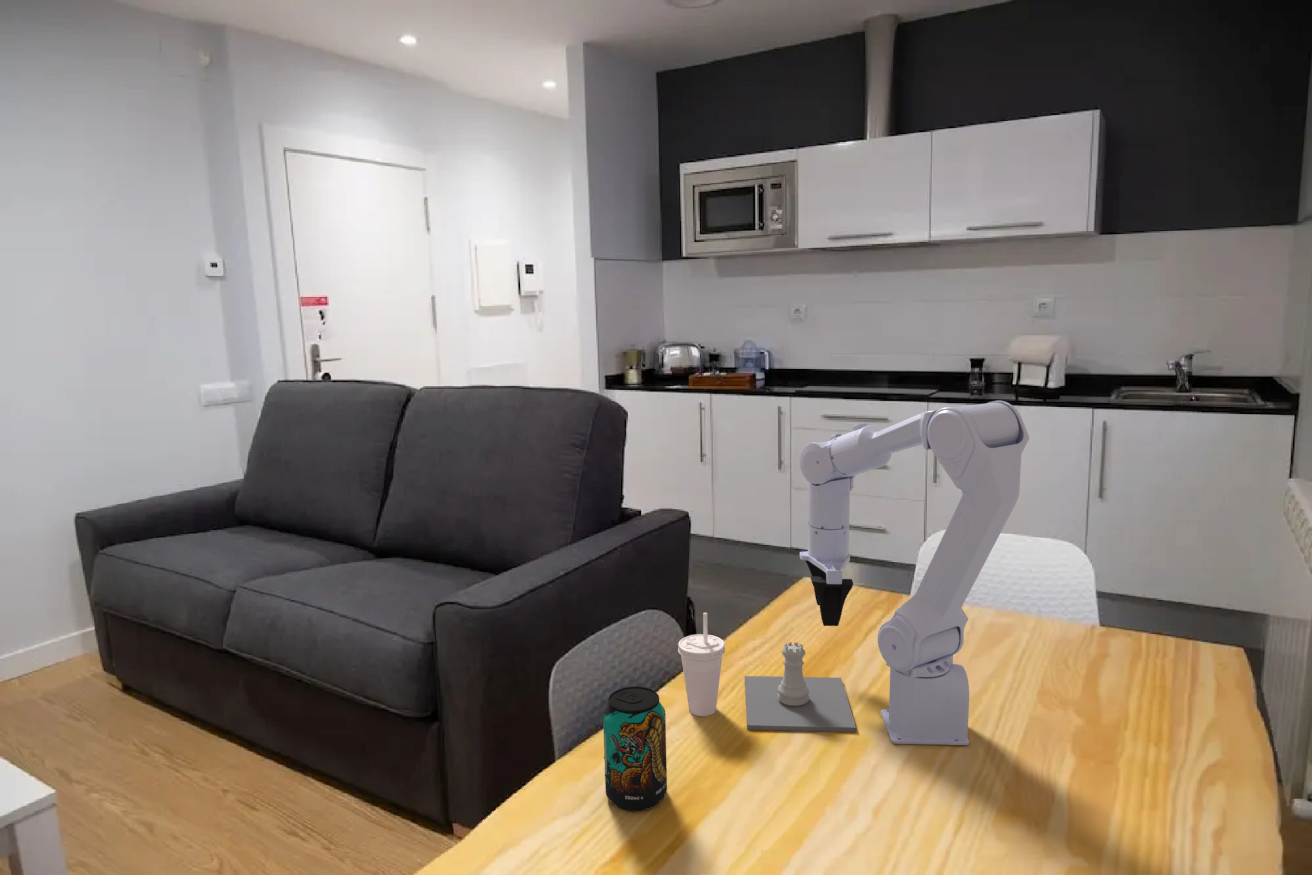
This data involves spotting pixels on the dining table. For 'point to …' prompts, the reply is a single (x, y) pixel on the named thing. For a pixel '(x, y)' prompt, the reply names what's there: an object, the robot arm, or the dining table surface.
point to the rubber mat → (817, 714)
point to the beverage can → (635, 748)
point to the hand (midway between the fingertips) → (827, 614)
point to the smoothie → (702, 670)
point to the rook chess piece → (793, 677)
